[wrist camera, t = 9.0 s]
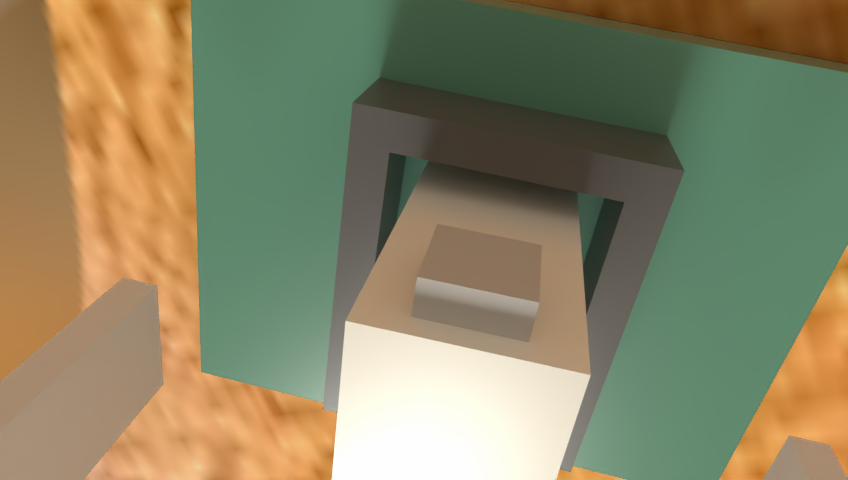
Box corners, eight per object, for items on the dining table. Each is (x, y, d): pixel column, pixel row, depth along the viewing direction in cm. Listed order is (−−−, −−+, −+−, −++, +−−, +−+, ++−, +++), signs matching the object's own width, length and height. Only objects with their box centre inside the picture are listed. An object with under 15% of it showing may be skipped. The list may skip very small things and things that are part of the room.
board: (220, 346, 24) (163, 420, 20) (217, -54, 17) (131, -46, 14) (698, 465, 22) (725, 567, 19) (901, 74, 16) (1001, 120, 12)
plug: (405, 330, 20) (325, 552, 13) (435, 128, 17) (348, 279, 10) (529, 358, 20) (515, 602, 13) (584, 155, 16) (604, 334, 9)
